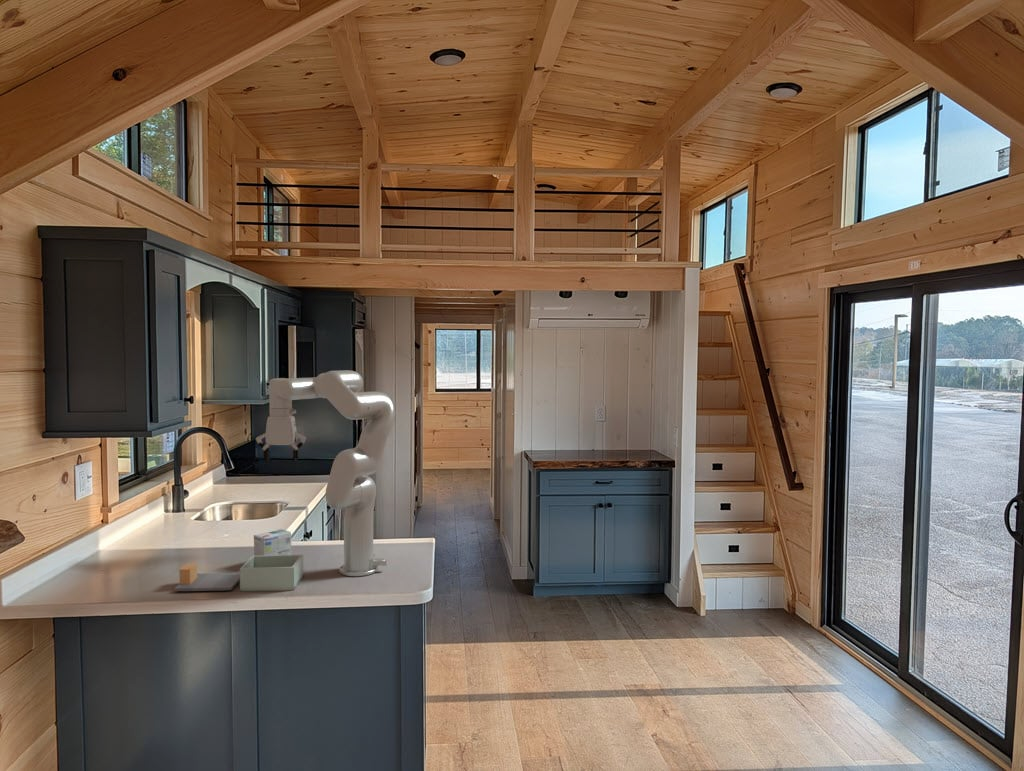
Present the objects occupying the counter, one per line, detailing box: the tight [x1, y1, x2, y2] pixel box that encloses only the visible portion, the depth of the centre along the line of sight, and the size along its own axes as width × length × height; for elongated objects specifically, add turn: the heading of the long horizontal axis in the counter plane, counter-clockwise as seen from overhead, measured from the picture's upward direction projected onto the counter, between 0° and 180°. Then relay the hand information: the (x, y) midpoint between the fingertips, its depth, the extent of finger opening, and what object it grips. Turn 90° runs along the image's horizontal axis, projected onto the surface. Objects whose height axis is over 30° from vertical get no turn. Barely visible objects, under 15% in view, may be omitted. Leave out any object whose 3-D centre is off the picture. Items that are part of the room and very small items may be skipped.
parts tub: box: [239, 554, 304, 592], centre depth 217 cm, size 16×13×8 cm
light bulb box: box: [253, 528, 292, 556], centre depth 236 cm, size 11×7×11 cm, turn 141°
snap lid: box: [173, 562, 240, 592], centre depth 215 cm, size 16×14×6 cm
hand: (281, 460), depth 247 cm, fingers open, 9 cm apart
